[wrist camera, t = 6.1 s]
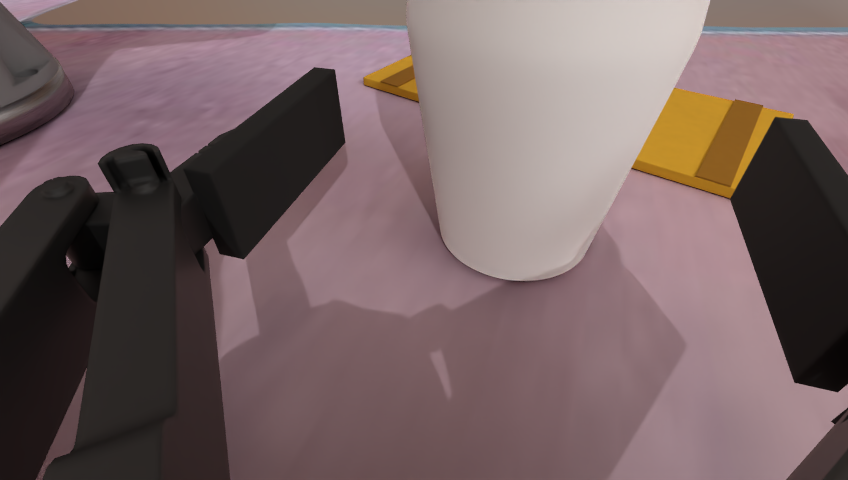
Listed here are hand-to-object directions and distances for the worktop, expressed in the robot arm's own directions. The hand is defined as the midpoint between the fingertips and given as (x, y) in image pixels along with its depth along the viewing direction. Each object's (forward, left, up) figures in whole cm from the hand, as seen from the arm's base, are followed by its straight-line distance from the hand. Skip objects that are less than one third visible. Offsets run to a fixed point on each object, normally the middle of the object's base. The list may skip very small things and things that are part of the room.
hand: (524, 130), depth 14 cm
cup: (-1, +2, -7) cm, 7 cm away
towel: (-5, +16, -6) cm, 18 cm away
